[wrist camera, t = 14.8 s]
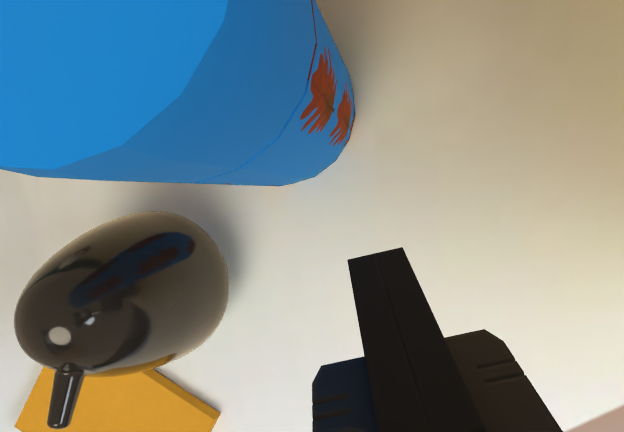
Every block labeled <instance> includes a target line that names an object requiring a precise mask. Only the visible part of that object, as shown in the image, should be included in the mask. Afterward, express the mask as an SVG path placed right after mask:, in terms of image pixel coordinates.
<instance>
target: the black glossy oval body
mask: <svg viewBox="0 0 624 432" xmlns="http://www.w3.org/2000/svg"><path fill="white" fill-rule="evenodd" d="M228 293H229V282H228V274H227V268H226V264H225V261H224V259H223V256H222V254H221V252H220V250H219V249H218V247H217V246H216V244H215V243H214V241H213V240H212V239H211V237H210V236H209V235H208V234H207V233H206V232H205V231H204V230H203V229H202V228H201V227H199V226H198V225H197V224H195V223H194V222H192V221H191V220H189V219H187V218H185V217H182V216H180V215H177V214H174V213H169V212H162V211H149V212H140V213H135V214H131V215H127V216H124V217H121V218H118V219H115V220H112V221H109V222H107V223H104V224H102V225H100V226H98V227H95V228H93V229H91V230H90V231H88V232H86V233H84V234H83V235H81V236H79V237H78V238H76V239H75V240H73V241H72V242H70V243H69V244H67V245H66V246H65V247H63V248H62V249H61V250H59V251H58V252H57V253H56V254H54V255H53V256H52V257H51V258H50V259H49V260H48V261H46V262H45V263H44V264H43V265H42V266H41V267H40V268H39V269H38V270H37V271H36V273H35V274H34V275H33V276H32V277H31V279H30V280H29V282H28V283H27V285H26V286H25V288H24V289H23V291H22V293H21V295H20V297H19V300H18V302H17V305H16V309H15V314H14V329H15V334H16V337H17V340H18V342H19V344H20V346H21V348H22V349H23V351H24V352H25V353H26V354H27V355H28V356H29V357H30V358H31V359H33V360H34V361H35V362H37V363H39V364H41V365H42V366H44V367H47V368H49V369H52V370H54V372H55V373H54V380H53V387H52V393H51V399H50V405H49V412H48V418H47V425H48V427H50V428H52V429H64V428H66V427H68V426H69V425H70V423H71V420H72V416H73V413H74V410H75V406H76V403H77V400H78V397H79V393H80V390H81V387H82V384H83V380H84V377H116V376H124V375H130V374H135V373H139V372H143V371H147V370H150V369H154V368H156V367H159V366H162V365H164V364H167V363H169V362H172V361H174V360H176V359H179V358H181V357H183V356H185V355H186V354H188V353H190V352H192V351H193V350H195V349H196V348H197V347H199V346H200V345H201V344H203V343H204V342H205V341H206V340H207V339H208V338H209V337H210V336H211V335H212V334H213V332H214V331H215V330H216V328H217V327H218V325H219V323H220V322H221V320H222V317H223V315H224V312H225V309H226V306H227V301H228Z"/></svg>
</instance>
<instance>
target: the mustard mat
mask: <svg viewBox="0 0 624 432" xmlns="http://www.w3.org/2000/svg"><path fill="white" fill-rule="evenodd" d="M54 373H55V372H54V370H52V369H49V368H47V367H43V369H42V371H41V373H40V375H39V377H38V379H37V381H36V383H35V385H34V387H33V390H32V392H31V394H30V396H29V398H28V400H27V402H26V404H25V406H24V408H23V410H22V412H21V414H20V416H19V418H18V420H17V422H16V424H15V427H16V428H18V429H19V430H20V431H22V432H211V430H212V428H213V426H214V425H215V423H216V421H217V419H218V417H219V415H220V413H219V412H218V411H216V410H215V409H213V408H212V407H210V406H209V405H207V404H206V403H204V402H202V401H201V400H199V399H198V398H196V397H195V396H193V395H192V394H190V393H189V392H187V391H186V390H184V389H182V388H181V387H179V386H178V385H176V384H175V383H173V382H172V381H170V380H169V379H167V378H166V377H164V376H163V375H161V374H159V373H158V372H156V371H155V370H153V369H150V370H147V371H143V372H139V373H135V374H130V375H124V376H116V377H84V380H83V384H82V387H81V390H80V393H79V397H78V400H77V403H76V406H75V410H74V413H73V416H72V420H71V423H70V425H69V426H68V427H66V428H64V429H52V428H50V427H48V425H47V418H48V412H49V405H50V399H51V393H52V387H53V380H54Z"/></svg>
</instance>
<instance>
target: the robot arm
mask: <svg viewBox="0 0 624 432" xmlns="http://www.w3.org/2000/svg"><path fill="white" fill-rule="evenodd" d="M348 265H349V271H350V277H351V282H352V288H353V293H354V299H355V305H356V310H357V316H358V321H359V327H360V333H361V338H362V344H363V349H364V355H365V357H360V358H356V359H351V360H346V361H341V362H337V363H332V364H327V365H323V366H321V368H320V369H319V371H318V373H317V375H316V377H315V379H314V381H313V383H312V402H313V405H312V413H313V432H563V431H562V430H561V428H560V427H559V425H558V424H557V422H556V421H555V419H554V418H553V416H552V415H551V413H550V411H549V410H548V408H547V407H546V405H545V404H544V402H543V401H542V399H541V398H540V396H539V395H538V393H537V392H536V390H535V389H534V387H533V386H532V384H531V382H530V381H529V379H528V378H527V376H526V375H524V372H523V370H522V369H521V367H520V366H519V364H518V363H517V361H515V358H514V357H513V355H512V353H511V352H510V350H509V349H508V347H507V346H506V344H505V343H504V341H502V340H501V339H499V338H498V337H496V336H494V335H493V334H491V333H490V332H488V331H486V330H485V329H484V330H479V331H474V332H469V333H465V334H460V335H455V336H451V337H446V338H444V337H443V335H442V332H441V330H440V328H439V326H438V324H437V322H436V319H435V317H434V315H433V313H432V311H431V309H430V306H429V304H428V302H427V300H426V298H425V295H424V293H423V291H422V289H421V287H420V285H419V282H418V280H417V278H416V276H415V274H414V272H413V269H412V267H411V265H410V263H409V261H408V258H407V256H406V254H405V252H404V250H403V248H402V247H401V248H397V249H393V250H388V251H384V252H380V253H375V254H371V255H366V256H362V257H358V258H353V259H349V260H348Z"/></svg>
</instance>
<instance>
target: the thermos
mask: <svg viewBox="0 0 624 432" xmlns="http://www.w3.org/2000/svg"><path fill="white" fill-rule="evenodd" d="M354 117H355V107H354V99H353V90H352V85H351V80H350V75H349V73H348V71H347V68H346V66H345V64H344V62H343V60H342V58H341V56H340V53H339V51H338V49H337V47H336V45H335V43H334V40H333V38H332V36H331V34H330V32H329V30H328V28H327V25H326V23H325V21H324V19H323V17H322V15H321V12H320V10H319V8H318V6H317V4H316V2H315V0H0V169H3V170H7V171H12V172H17V173H22V174H27V175H31V176H36V177H51V178H69V179H86V180H106V181H137V182H167V183H197V184H227V185H258V186H283V185H288V184H292V183H296V182H299V181H302V180H305V179H308V178H312V177H315V176H316V175H318V174H319V173H320V172H322V171H323V170H324V169H326V168H327V167H328V166H329V165H331V164H332V163H333V162H335V161H336V159H337V158H338V156H339V155H340V153H341V151H342V150H343V148H344V147H345V145H346V144H347V142H348V141H349V138H350V134H351V130H352V126H353V121H354Z"/></svg>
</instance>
